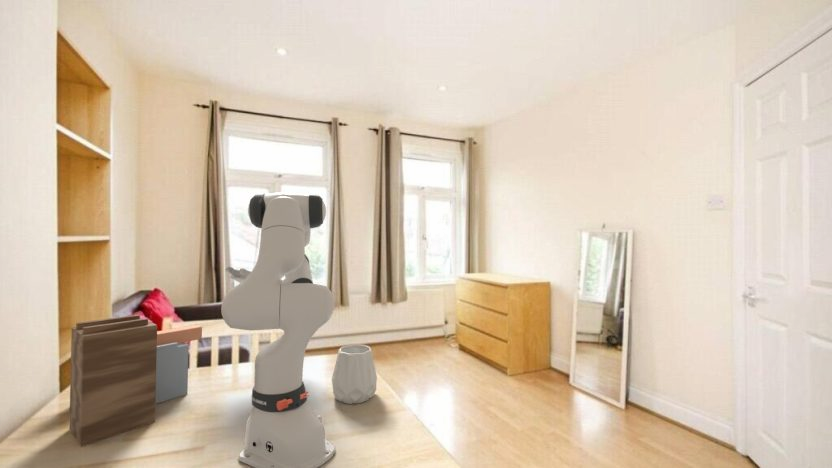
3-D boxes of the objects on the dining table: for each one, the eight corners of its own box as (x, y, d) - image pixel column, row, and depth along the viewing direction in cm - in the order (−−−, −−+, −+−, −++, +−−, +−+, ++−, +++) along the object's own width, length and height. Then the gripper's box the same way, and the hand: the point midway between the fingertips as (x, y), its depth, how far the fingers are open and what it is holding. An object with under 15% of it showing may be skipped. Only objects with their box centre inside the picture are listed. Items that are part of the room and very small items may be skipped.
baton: (201, 338, 123) (202, 326, 123) (119, 354, 106) (120, 340, 106) (196, 336, 126) (196, 324, 126) (115, 351, 108) (115, 338, 108)
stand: (155, 421, 99) (157, 319, 99) (80, 446, 87) (83, 330, 87) (139, 408, 107) (141, 312, 107) (69, 429, 95) (71, 321, 95)
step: (187, 394, 117) (188, 341, 117) (145, 406, 108) (147, 349, 108) (172, 384, 124) (173, 334, 124) (132, 395, 115) (133, 341, 115)
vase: (331, 409, 109) (332, 357, 109) (331, 389, 123) (332, 343, 123) (379, 404, 112) (380, 354, 112) (373, 386, 126) (374, 341, 126)
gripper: (254, 275, 145) (224, 259, 135) (285, 280, 132) (253, 263, 123) (246, 290, 142) (214, 275, 133) (277, 297, 130) (244, 280, 120)
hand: (233, 269), depth 127 cm, fingers open, 8 cm apart
